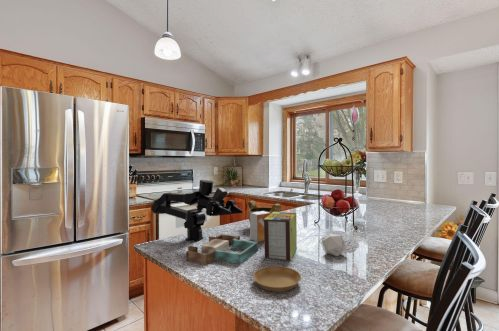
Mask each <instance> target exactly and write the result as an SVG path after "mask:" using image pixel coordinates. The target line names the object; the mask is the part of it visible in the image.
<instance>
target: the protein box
mask: <svg viewBox="0 0 499 331" xmlns="http://www.w3.org/2000/svg"><path fill="white" fill-rule="evenodd" d="M297 231H298V230H297V213H296V212H284V211H283V212H282V211H279V212H272V213H271V214H270V215H268V216H267V217H266V218H265V219H264V241H263V242H264V259H270V260H280V261H287V262H288V261H289V262H290V261H291V260H292V258H293V256H294V255H295V252H296V250H297V248H298V246H297V241H298V240H297V236H298V235H297Z"/></svg>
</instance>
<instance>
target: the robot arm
mask: <svg viewBox="0 0 499 331" xmlns="http://www.w3.org/2000/svg"><path fill="white" fill-rule="evenodd" d="M213 188H214V181H213V180H207V179H206V180H205V179H199V188H198V190H197V191H194V192H189V193H179V192H178V193H177V192H165V193H162V194H161V196H160V197H158V198H157V199H156V200H155V201H154V202H153V203H152V206H151V211H152V213H153V214H156V215H163V214H166V215H169V216H172V217H176V218H179V219H183V220H185V221H184V223H183V226H184V228H185V229H187V230H186V232H187V233H186V234H187V235H186V236H187V237H186V238H185V241H189V242H198V241H200V240H203V239H204V236H203V229H202V226H204V224H205V221H206V218H207V217H206V216H208V217H217V216H218V217H219V216H228V215H230V216H231V215H235V214H242V213H243V210H242V209H241V208H239V207H238V206H237V205H236V200H233V199H231V200H230V199H229V200H227V201H226V203H225V197H226V196H227V195H228V190H227V189H225V188H223V187H217V188H216V190H215V192H214V193H213ZM212 194H213V196H212V197H210V195H212ZM172 202H179V203H180V202H181V203H184V204H186V205H187V206H193V205H196V206H195V207H196V208H193V209H187V210H186V209H184V208H181V207H175V206H173V205H171V204H172ZM224 203H225V204H224ZM204 209H205V211H203V210H204ZM205 213H206V214H205Z"/></svg>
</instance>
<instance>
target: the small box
mask: <svg viewBox="0 0 499 331" xmlns="http://www.w3.org/2000/svg"><path fill="white" fill-rule="evenodd" d="M270 214H271V213H269V212H265V211H260V212H253V213H250V222H249V233H250V234H249V240H251V241H252V242H258V243H259V242H264V219H265V218H266V217H267V216H268V215H270Z"/></svg>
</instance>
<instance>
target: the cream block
mask: <svg viewBox="0 0 499 331" xmlns="http://www.w3.org/2000/svg"><path fill="white" fill-rule="evenodd" d="M200 247H201V249H200V250H201V251H200V253H205V254H208V253H210V252H211V251H213V250H220V251H227V252H228V250H230V247H229V241H227V240H221V239H214V240H212V241H209V240H208V242H205V243H203V244H201V246H200Z"/></svg>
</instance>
